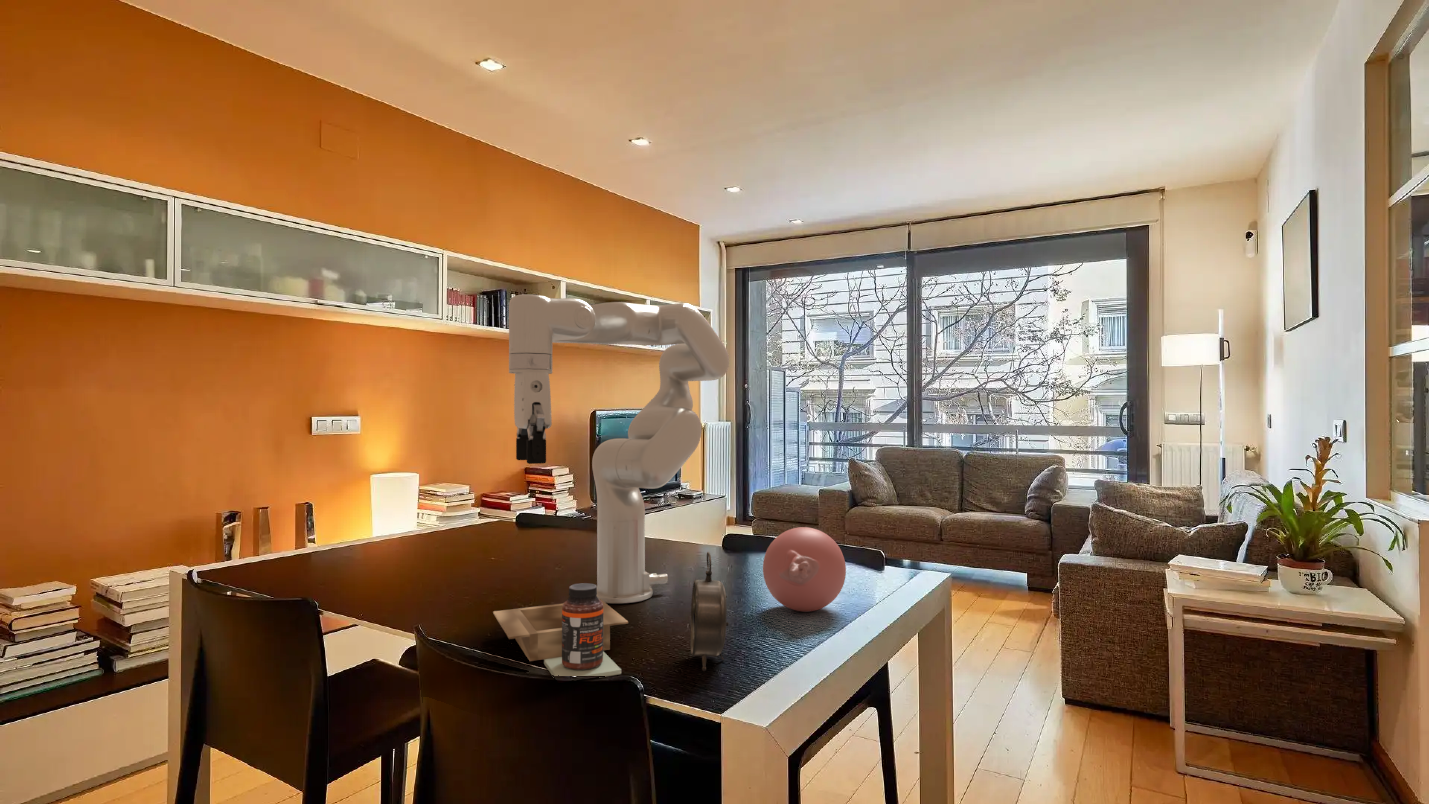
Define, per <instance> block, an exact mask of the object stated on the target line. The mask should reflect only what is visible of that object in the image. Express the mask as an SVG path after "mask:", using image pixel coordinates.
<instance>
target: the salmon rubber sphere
mask: <svg viewBox="0 0 1429 804" xmlns="http://www.w3.org/2000/svg"><path fill="white" fill-rule="evenodd" d="M846 566H847V565H846V561H845V557H844V555H843V552H842V549H841V548H840V546H839V544H838V543H836V541H835V540H834V539H833V538H832V537H831V536H830V535H828V534H827V533H825V532H824V531H822V530H819V529H817V528H812V527H807V526H805V527H803V526H802V527H801V526H799V527H793V528H790V529H787V530H785V531H783V532H781V533H780V534H779V535H778V536H776V537H775V538H774V540H772V541H771V542H770V544H769V546H768V547H767V549H766V551H765V554H764V558H763V562H762V573H763V575H762V576H763V580H764V582H765V585H766V588H767V589H768V591H769V592H770V594H771V595H772V597H773V598H774V599H775V600H776V601H777V602H778V603H779V604H781V605H783V606H784V607H786V608H788V609H790V610H792V611H796V612H802V613H803V612H804V613H806V612H807V613H809V612H815V611H817V610H821V609H823V608H826V607H827V606H829V605H831V603H832V602H833V601H834V600H836V598H837V597H838V596H839V595H840V593H841V591H842V590H843V587H844V584H845V580H846V575H847V574H846V573H847V567H846Z"/></svg>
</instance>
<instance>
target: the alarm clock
mask: <svg viewBox="0 0 1429 804" xmlns="http://www.w3.org/2000/svg"><path fill="white" fill-rule="evenodd" d="M706 567H707V568H706V569H707V570H706V571H705V574H706V575H705V579H694V580H693V586H692V590H691V591H692V592H691V601H690V602H691V604H690V627H689V628H690V635H689V639H690V640H689V641H690V642H689V643H690V644H689V645H690V653H691V656H692V657H701V664H702V667H701V671H702V672H705V671H707V666H706V665H707V657H716V658H717V657H718V656H719V657H720V658H721V659H722V661H724V660H725V659H724V657H723V655H722V652H723V649H724V646H725V642H726V634H727V627H728V626H729V625H730V624H729V623H730V622H728V621H727V619H728V617H727V616H728V615H727V613H728V611H727V606H728V605H727V598H728V596H727V593H726V588H725V585H724V584H723V583H722V582H721V581H720V580H717V579H716V580H715V579H714V580H713V579H712V574H713V572H712V557H711V553H710V551H707V552H706Z"/></svg>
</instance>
